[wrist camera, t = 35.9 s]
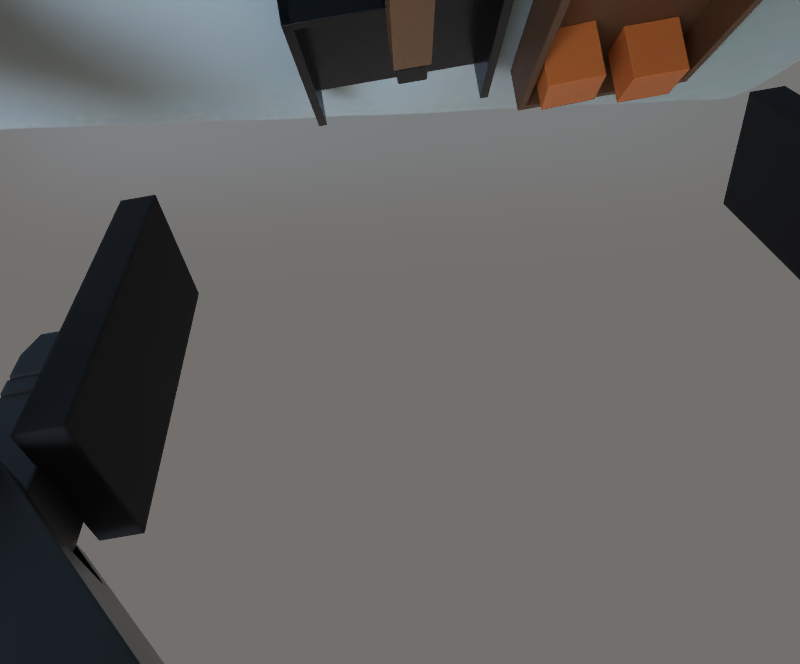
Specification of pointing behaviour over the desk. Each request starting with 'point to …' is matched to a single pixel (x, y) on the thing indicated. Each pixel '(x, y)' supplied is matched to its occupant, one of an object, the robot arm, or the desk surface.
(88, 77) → the desk surface
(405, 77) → the pan
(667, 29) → the block
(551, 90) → the block
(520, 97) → the tray
